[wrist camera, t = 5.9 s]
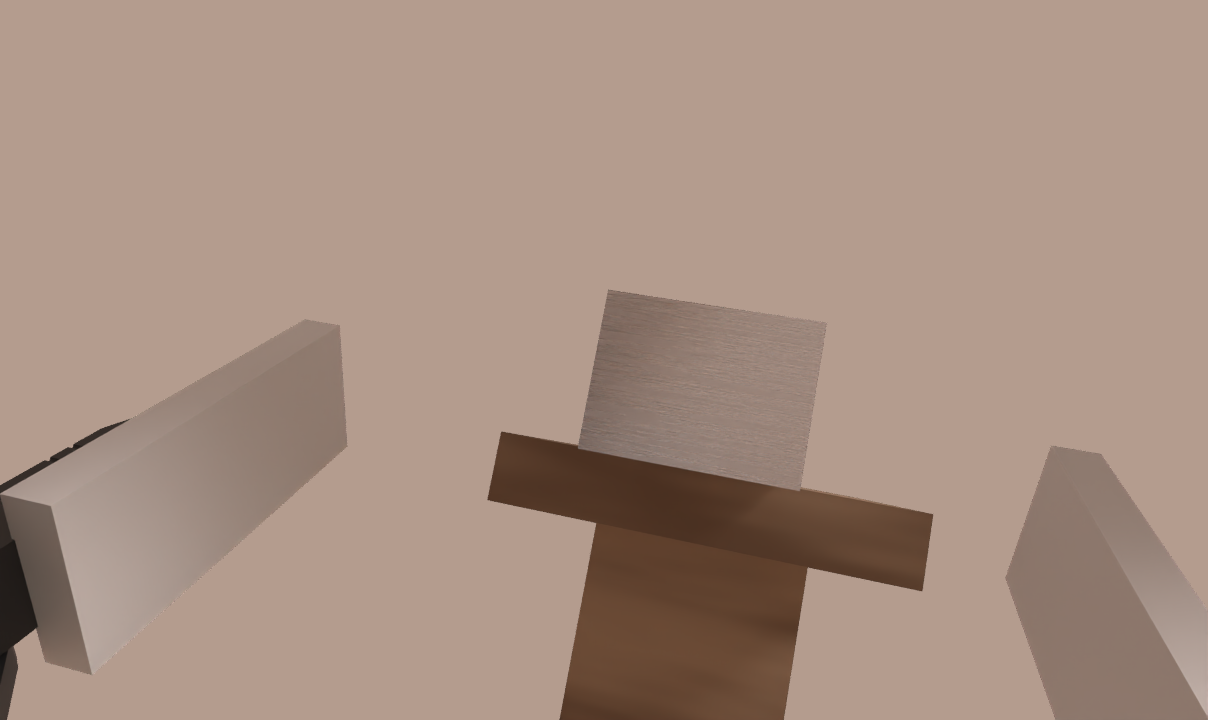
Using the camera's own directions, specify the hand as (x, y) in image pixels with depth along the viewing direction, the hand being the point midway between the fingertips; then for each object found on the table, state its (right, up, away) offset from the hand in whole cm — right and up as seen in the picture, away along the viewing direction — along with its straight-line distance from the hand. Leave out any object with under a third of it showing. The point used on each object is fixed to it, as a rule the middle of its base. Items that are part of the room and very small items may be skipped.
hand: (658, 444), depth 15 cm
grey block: (+3, -2, +11) cm, 11 cm away
